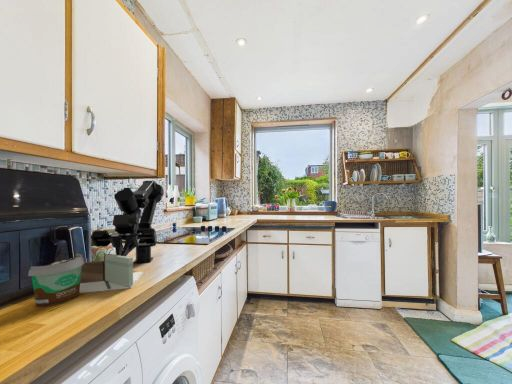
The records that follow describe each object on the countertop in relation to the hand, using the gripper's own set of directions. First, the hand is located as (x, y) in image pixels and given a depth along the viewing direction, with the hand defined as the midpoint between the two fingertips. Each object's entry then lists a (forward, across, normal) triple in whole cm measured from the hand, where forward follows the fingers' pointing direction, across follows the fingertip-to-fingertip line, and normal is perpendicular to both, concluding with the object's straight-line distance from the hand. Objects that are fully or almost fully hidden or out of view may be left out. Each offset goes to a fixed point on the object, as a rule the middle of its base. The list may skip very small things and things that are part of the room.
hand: (119, 260), depth 71 cm
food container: (+12, -10, -2) cm, 15 cm away
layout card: (+4, -4, +6) cm, 8 cm away
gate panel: (+6, 0, +3) cm, 7 cm away
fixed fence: (+3, -8, +7) cm, 11 cm away
